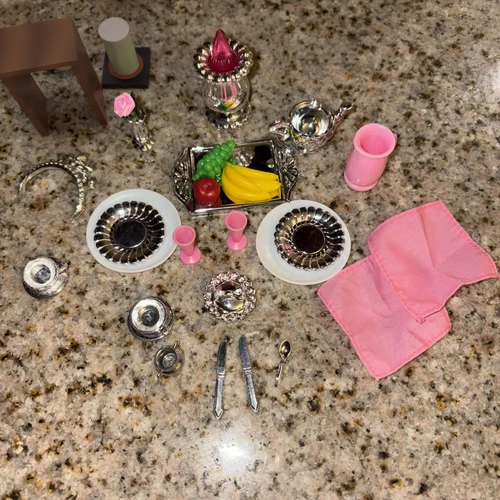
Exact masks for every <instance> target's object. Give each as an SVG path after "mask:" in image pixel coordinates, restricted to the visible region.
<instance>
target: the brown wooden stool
mask: <svg viewBox="0 0 500 500" xmlns="http://www.w3.org/2000/svg"><path fill="white" fill-rule="evenodd" d="M67 66H71V68H72V69H71V70H72V71H73V74H74V76H75V79H76V80H77V81H78V84H79V86H80V88H81V90H82V92H83V94H84V96H85V98H86V100H87V102H88V104H89V106H90V108H91V110H92V112H93V114H94V116H95V118H96V120H97V122H98V125H99V126H100V127H103V126H108V124H109V123H108V117H107V111H106V110H107V109H106V105H105V104H106V103H105V98H104V91H103V87H102V85H101V81H100V78H99V77H98V74H97V73H96V69H95V68H94V65H93V63H92V61H91V58H90V56H89V54H88V51H87V49H86V47H85V45H84V42H83V39H82V38H81V35H80V33H79V30H78V28H77V25H76V23H75V21H74V19H73V17H72V16H65V17H59V18H54V19H48V20H47V19H46V20H41V21H37V22H30V23H25V24H19V25H12V26H5V27H0V81H1V83H2V84H3V86H5V88H6V90H7V91H8V92H9V94H10V95H11V96H12V97H13V99H14V100H15V102H16V103H17V104H18V106H19V107H20V109H21V110H22V111H23V113H24V114H25V116H26V117H27V119H28V120H29V121H30V123H31V124H32V125H33V127H34V129H35V130H36V131H37V133H38V134H39V136H40V137H41V138H45V137H46V138H47V137H50V127H49V119H48V118H49V117H48V109H47V99H46V95H45V94H44V92H43V90H41V88H40V87H39V85H38V83H37V82H36V80H35V78H34V76H33V75H32V73H39V72H43V71H50V70H55V69H56V68H61V67H67ZM56 70H57V69H56Z"/></svg>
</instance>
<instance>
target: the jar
mask: <svg viewBox="0 0 500 500" xmlns="http://www.w3.org/2000/svg"><path fill="white" fill-rule="evenodd" d="M97 32H98V35H99V38H100V40H101V42H102V44H103V48H104V51H105V50H106V52H107V55H108V58H109V60H110V63H111V66H112V68H113V70H114V71H115V72H116V73H117V74H120V75H130V74H132V73H134V72H135V71H136V70H137V69H138V67H139V60H138V56H137V53H136V50H135V47H136V46H135V43H134V40H133V36H132V33H131V28H130V24H129V23H128V22H127V21H126V20H125V19H124V18H121V17H117V16H115V17H114V16H112V17H109V18H106V19H104V20H103V21H102V22H101V23H100V24H99V26H98V31H97Z"/></svg>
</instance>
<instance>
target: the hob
mask: <svg viewBox="0 0 500 500" xmlns="http://www.w3.org/2000/svg"><path fill="white" fill-rule="evenodd" d="M135 50H136V53H137V56H138V60H139V67H138V69H137V70H136V71H135V72H134V73H132V74H130V75H120V74H117V73H116V72H115V71H114V70H113V68H112V66H111V63H110V60H109V58H108V55H107V52H106V50H105V49H104V58H103V66H102V75H101V81H100V84H101V86H102V89H149V86H150V75H151V74H150V73H151V60H152V50H151V47H150V46H135Z"/></svg>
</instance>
